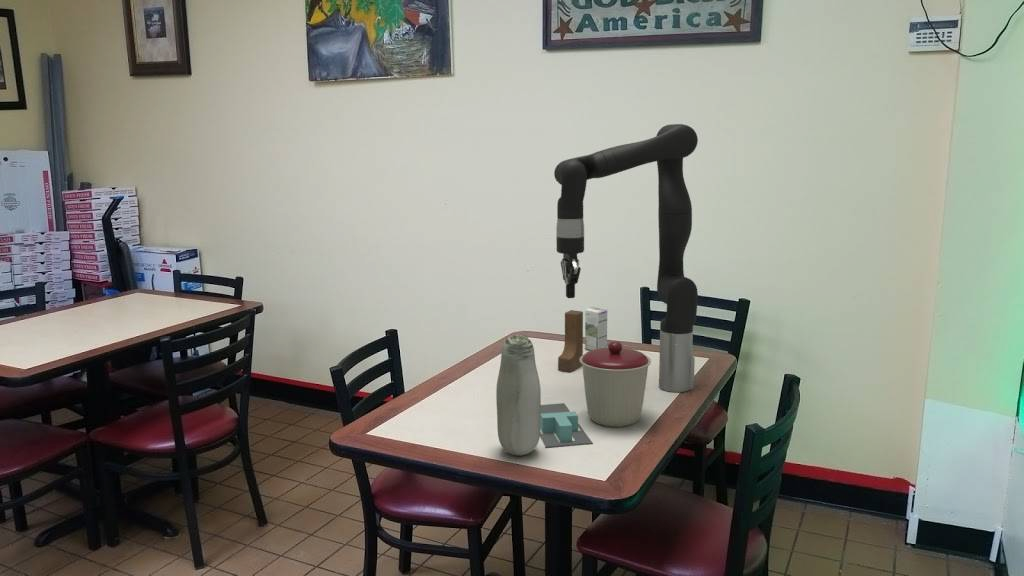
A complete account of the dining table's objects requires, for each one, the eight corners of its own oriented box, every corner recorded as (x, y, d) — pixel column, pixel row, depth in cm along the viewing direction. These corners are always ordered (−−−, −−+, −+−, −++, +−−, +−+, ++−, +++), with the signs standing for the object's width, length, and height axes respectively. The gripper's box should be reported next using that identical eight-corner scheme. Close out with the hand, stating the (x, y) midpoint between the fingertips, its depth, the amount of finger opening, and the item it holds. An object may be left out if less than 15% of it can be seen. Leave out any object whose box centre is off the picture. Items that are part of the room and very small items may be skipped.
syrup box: (607, 349, 259) (608, 308, 256) (597, 352, 255) (597, 311, 252) (594, 346, 263) (595, 306, 260) (584, 349, 259) (584, 309, 256)
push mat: (564, 404, 206) (564, 403, 206) (592, 444, 179) (592, 442, 179) (523, 407, 204) (523, 406, 204) (545, 448, 177) (545, 446, 177)
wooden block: (570, 373, 233) (570, 317, 230) (557, 370, 236) (557, 315, 232) (583, 365, 241) (583, 311, 237) (570, 363, 243) (570, 309, 240)
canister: (663, 419, 194) (665, 341, 190) (621, 439, 181) (622, 356, 177) (607, 403, 206) (608, 329, 202) (565, 421, 194) (564, 342, 190)
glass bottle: (543, 460, 170) (542, 341, 165) (498, 462, 169) (496, 343, 164) (538, 443, 180) (537, 330, 174) (496, 444, 179) (493, 331, 174)
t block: (575, 426, 189) (575, 411, 188) (584, 440, 180) (584, 424, 179) (540, 428, 188) (540, 413, 187) (547, 442, 179) (547, 427, 178)
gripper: (590, 237, 196) (590, 301, 200) (577, 231, 209) (577, 292, 212) (562, 238, 195) (562, 303, 198) (551, 232, 208) (551, 293, 211)
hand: (570, 297), depth 205 cm, fingers closed
